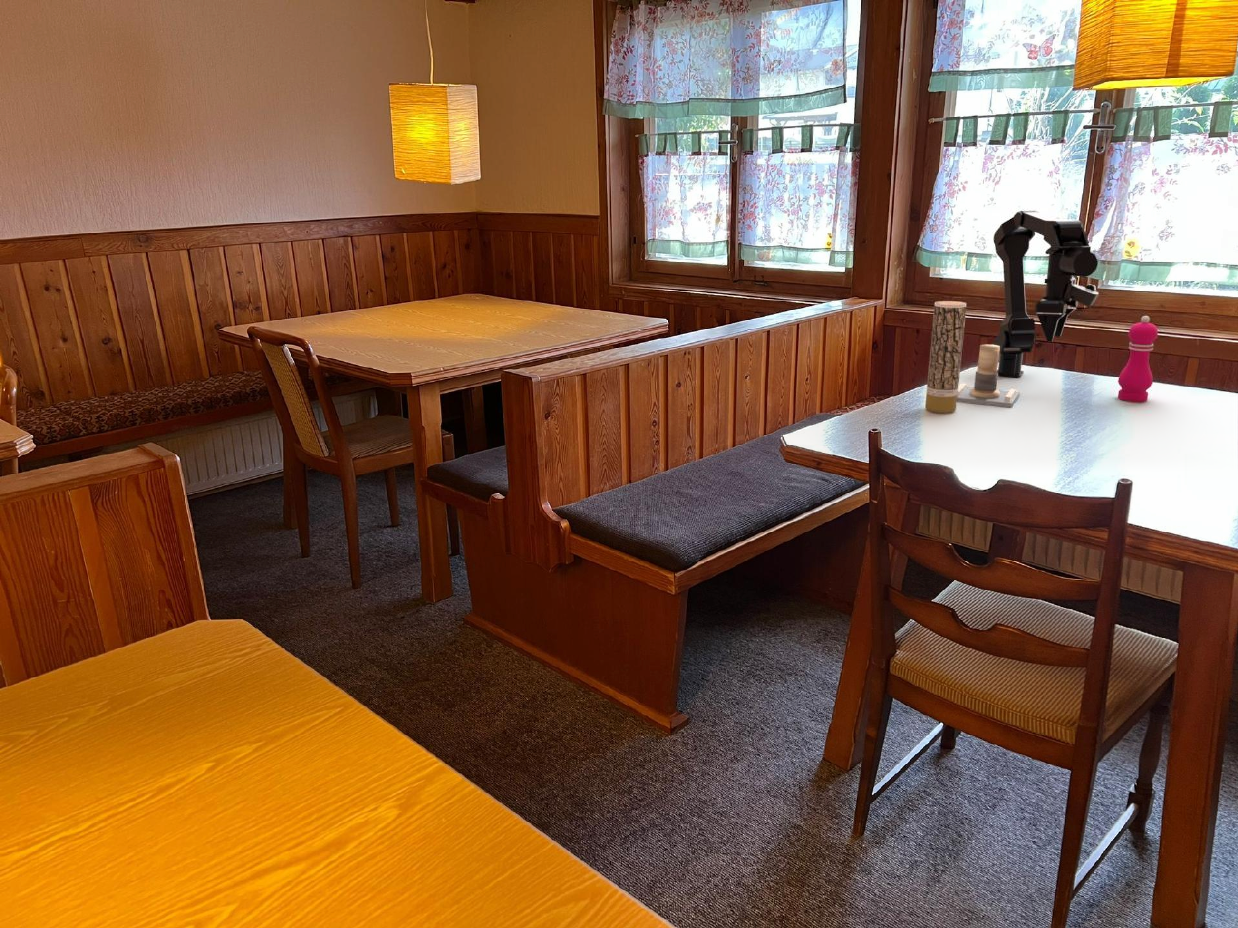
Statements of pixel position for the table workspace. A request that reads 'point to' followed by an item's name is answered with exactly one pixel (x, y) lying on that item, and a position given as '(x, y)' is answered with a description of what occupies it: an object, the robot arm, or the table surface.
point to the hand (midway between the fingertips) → (1053, 339)
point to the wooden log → (945, 356)
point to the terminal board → (1003, 400)
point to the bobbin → (987, 373)
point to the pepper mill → (1138, 363)
